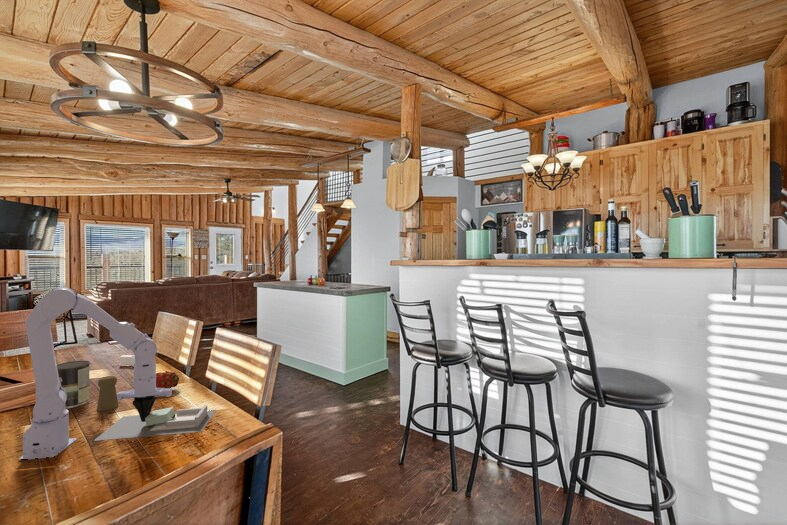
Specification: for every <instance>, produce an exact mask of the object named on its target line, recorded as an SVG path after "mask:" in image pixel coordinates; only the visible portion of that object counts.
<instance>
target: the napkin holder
mask: <svg viewBox="0 0 787 525" xmlns="http://www.w3.org/2000/svg"><path fill="white" fill-rule="evenodd" d="M134 362H135V355H134V354H131V355H130V354H128V355H127V354H122V355H119V366H120V365H132V366H134Z"/></svg>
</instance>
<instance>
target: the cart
mask: <svg viewBox="0 0 787 525" xmlns="http://www.w3.org/2000/svg"><path fill="white" fill-rule="evenodd" d="M175 413H176V412H175V407H174V406H171V407H166V408H161V409H156V410H152V411H151V412H150V414H149V415H148V416H147V417H146V418H145V420H146V426H147V428H149V427H151V425H153V424H158V423H163V422H167V421H170V419H171V418H174V417H175Z"/></svg>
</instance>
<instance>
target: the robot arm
mask: <svg viewBox="0 0 787 525" xmlns="http://www.w3.org/2000/svg"><path fill="white" fill-rule="evenodd" d="M70 310H72V311H71V314H80V315H86V317H89V318H90V319H92V320H93V321H95V323H98V324H99V325H101V326H102V327H104V328H106V329H107V330H108V331H109V338H111V339H113V340H114V341H115V342H117V343H118V344H119V345H120V346H123V347H124V348H126V350H128V351H129V350H131V351H132V352H133V355H135V362H134V368H133V389H131V390H126V391H119V392H118V393H117V400H118V401H122V400H129V399H133V401H132V405H133V406H134V408H135V409H136V411H137V413H138V415H140V418H141V422H146V420H145V418H146V417H147V416H148V415H149V414H150V413H151V412H152V409H153V406H154V405H155V402H156V400H157V398H158V397H166V398H167V397H168V398H169V397H171V396H172V395H173V387H172V388H170V389H166V388H156V375H157V362H156V353H157V351H158V348H157V345H156V343H155V341H154V340H153V339H152V338H151V336H149V335H148V334H147V333H143V332H141V331H140V330H138V328H136V324H135V323H133V322H128V321H118V320H117V319H116V318H115V317H113V316H111V315H110V314H109V313H108V312H107V311H105V310H104V309H103V308H101V307H100V306H99V305H97V304H96V303H95V302H94V301H93V300H91V299H89V298H88V297H86V296H84V295H82V294H80V293H76V290H73V289H72V288H70V287H65V286H61V287H60V286H59V287H57V288H55V289H52V290H51V291H50V292H48V293H47V294H45V295H44V296H43V297H42V298H40V299H39V300H38V302H37V304H36V305H35V306H34V307H33V309H32V311H31V312H30V313H29V315H27V317H26V319H25V323H24V324H25V328H26V335H27V341H28V348H29V353H30V358H31V359H30V360H31V366H32V371H33V378H34V384H35V404H34V406H33V409H32V414H33V417H32V422H31V424H30V426H29V427H28V429H26V430H25V431H24V433H23V435H22V456H20V457H19V458H18V460H19V459H28V460H36V459H35V458H38V459H46V457H49V458H55V457H56V456H58V455H59V454H60V453H62V452H63V451H64V450H65V449H66V448H69V447H70V446H71V445H72V444H73V443H75V442H76V441H78V438H76V437H75V438H70V427H69V426H70V424H69V423H70V418H69V417H70V414H69V413H70V412H69V410H68V409H66V408H65V402H66V400H67V393H66V391H65V390H64V389H63V388H62V387H61V382H60V379H59V376H58V369H57V364H58V363H57V358H56V351H55V345H54V339H53V333H52V332H53V331H52V327H51V324H52V323H53V322H54V321H55V320H57V318H58V317H59V316H60V315H63V314H65V313H66V312H68V311H70ZM58 453H59V454H58ZM54 456H55V457H54Z"/></svg>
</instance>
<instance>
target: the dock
mask: <svg viewBox="0 0 787 525" xmlns="http://www.w3.org/2000/svg"><path fill="white" fill-rule="evenodd" d="M207 410H209V411H208V412H207ZM210 410H211V411H210ZM216 411H217V409H208V405H203V406H202V407H193V408H181V409H180V408H178V409H177V410H176V412H175V417H174V418H171V419H170V421H167V422H163V423H158V424H153V425H151V427H149V428H147V426H146V422H141V418H140V415H139V414H137V415H127V416H126V415H124V416H122V417H121V418H119V419H118V420H117V421H116V422H115V423H113V424H112V425H111V426H109V427H108V428H107V429H106V430H105V431H104V432H102V433H101V434H100V435H99V436H97V437H96V438H95V439H94V440H93V441H94V442H96V441H97V442H98V441H107V440H109V441H110V440H121V439H133V438H143V437H146V438H147V437H156V436H157V437H158V436H167V435H168V436H169V435H178V434H179V435H180V434H181V435H182V434H191V433H202V432H203V431H204V429H205V428H206V426H207V424H208V423H210V420H211V419H212V417H213V416H214V415H215V413H216Z"/></svg>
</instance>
